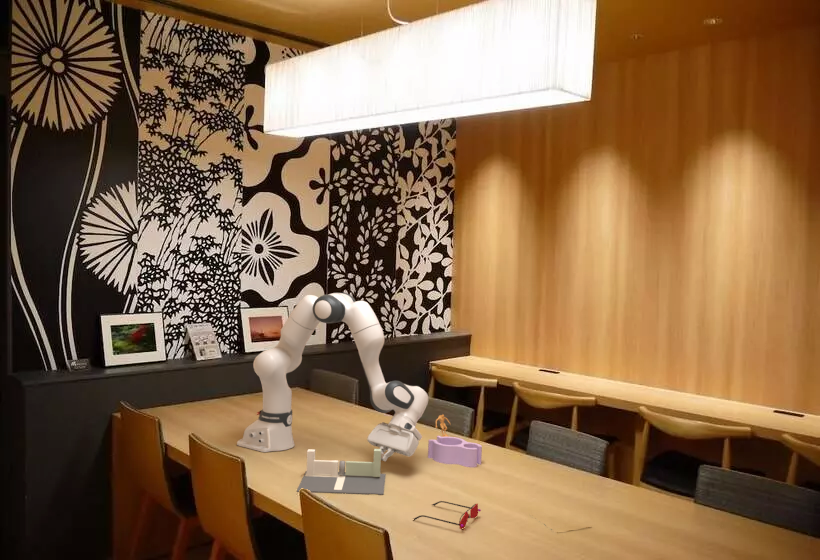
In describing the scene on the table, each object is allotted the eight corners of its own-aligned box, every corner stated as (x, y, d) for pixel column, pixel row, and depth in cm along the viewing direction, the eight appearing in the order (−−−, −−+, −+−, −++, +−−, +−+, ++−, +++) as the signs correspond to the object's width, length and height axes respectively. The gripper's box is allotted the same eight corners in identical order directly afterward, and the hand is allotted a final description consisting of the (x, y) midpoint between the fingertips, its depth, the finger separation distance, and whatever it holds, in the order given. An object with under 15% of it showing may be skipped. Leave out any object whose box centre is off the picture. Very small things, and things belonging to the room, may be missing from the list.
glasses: (462, 535, 190) (462, 517, 190) (410, 521, 198) (411, 505, 198) (480, 518, 202) (481, 502, 202) (431, 506, 210) (432, 490, 210)
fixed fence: (338, 475, 233) (338, 450, 232) (337, 478, 230) (338, 452, 230) (307, 474, 233) (308, 449, 232) (306, 477, 230) (307, 451, 230)
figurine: (441, 447, 270) (442, 417, 270) (430, 443, 275) (431, 414, 274) (455, 443, 276) (456, 415, 275) (445, 440, 280) (446, 412, 280)
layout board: (296, 491, 217) (296, 490, 217) (305, 471, 236) (305, 470, 236) (383, 495, 217) (383, 493, 217) (385, 474, 236) (385, 473, 236)
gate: (338, 475, 230) (339, 449, 230) (339, 473, 233) (340, 447, 232) (379, 477, 230) (380, 451, 230) (380, 474, 233) (381, 449, 232)
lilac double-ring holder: (486, 461, 255) (486, 443, 254) (471, 470, 244) (471, 451, 244) (440, 451, 265) (441, 434, 265) (424, 459, 255) (424, 441, 255)
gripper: (376, 416, 249) (356, 447, 242) (418, 427, 235) (398, 461, 229) (383, 426, 252) (364, 457, 246) (425, 438, 239) (406, 471, 232)
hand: (381, 459), depth 237 cm, fingers closed
